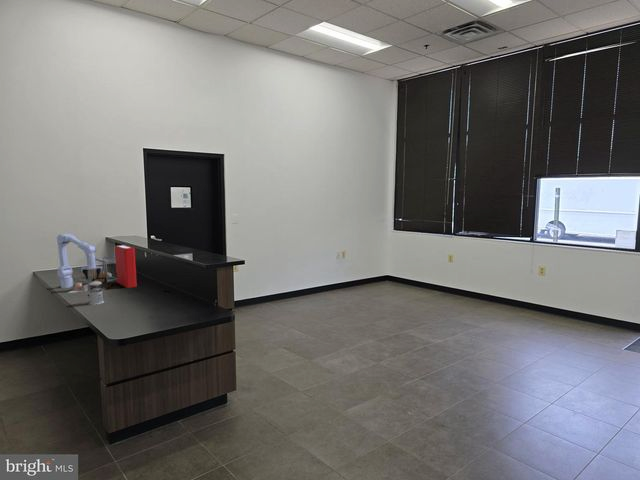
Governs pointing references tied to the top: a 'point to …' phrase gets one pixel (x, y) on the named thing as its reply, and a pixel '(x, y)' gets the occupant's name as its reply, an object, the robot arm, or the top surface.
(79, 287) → the canister
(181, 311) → the top surface
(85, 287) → the pale blue block
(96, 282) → the french press
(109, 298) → the top surface
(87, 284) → the tan notched piece
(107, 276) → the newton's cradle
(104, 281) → the cigar case
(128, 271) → the book
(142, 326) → the top surface
